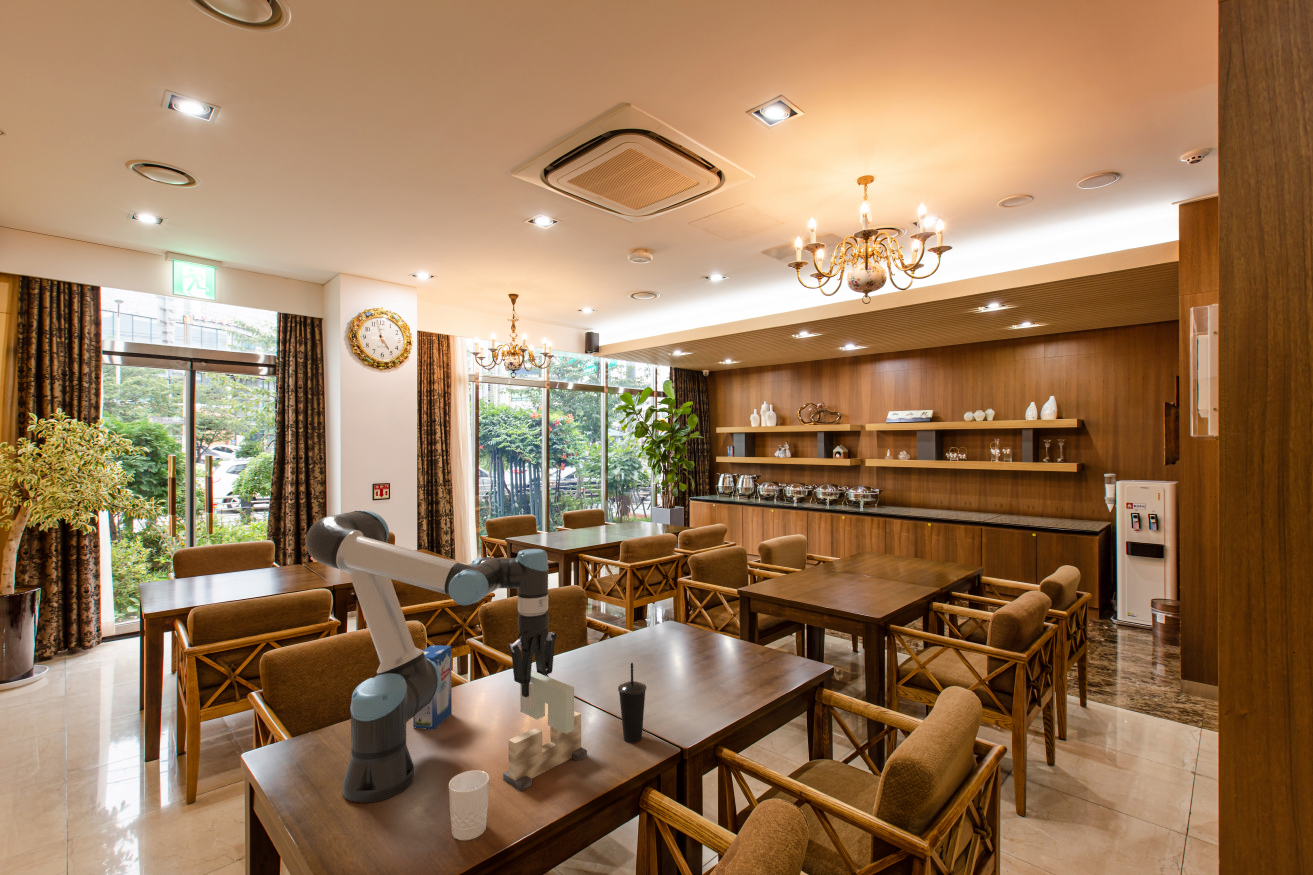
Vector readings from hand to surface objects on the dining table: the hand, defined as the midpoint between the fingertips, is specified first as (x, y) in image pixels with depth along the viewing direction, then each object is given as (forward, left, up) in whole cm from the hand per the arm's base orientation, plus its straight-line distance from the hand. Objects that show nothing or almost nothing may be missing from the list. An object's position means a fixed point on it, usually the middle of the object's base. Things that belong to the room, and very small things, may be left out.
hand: (533, 706), depth 147 cm
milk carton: (-6, +40, -14) cm, 43 cm away
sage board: (0, -5, -2) cm, 5 cm away
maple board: (0, -5, -13) cm, 14 cm away
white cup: (-25, -12, -14) cm, 31 cm away
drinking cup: (+24, -11, -14) cm, 30 cm away
